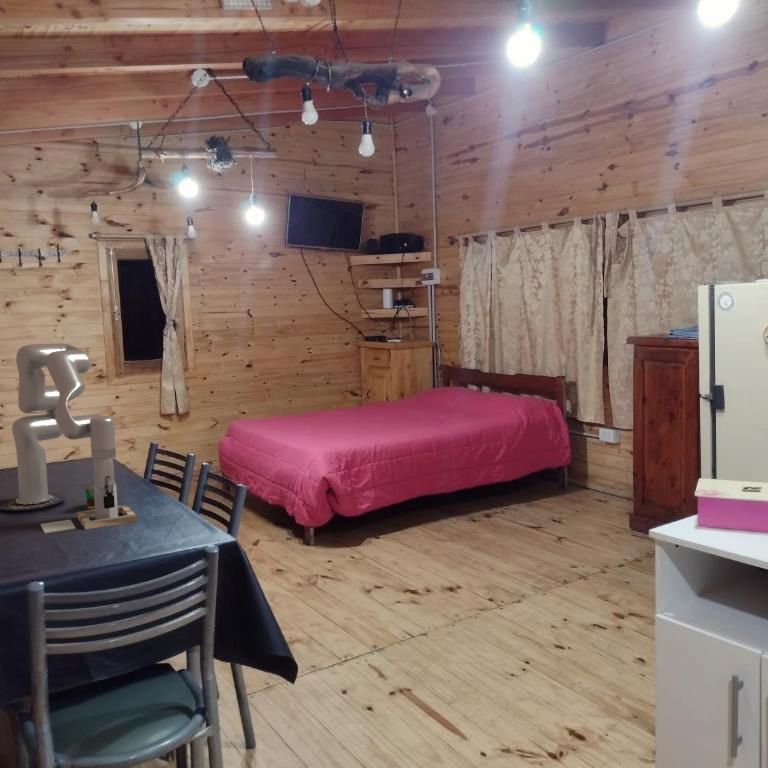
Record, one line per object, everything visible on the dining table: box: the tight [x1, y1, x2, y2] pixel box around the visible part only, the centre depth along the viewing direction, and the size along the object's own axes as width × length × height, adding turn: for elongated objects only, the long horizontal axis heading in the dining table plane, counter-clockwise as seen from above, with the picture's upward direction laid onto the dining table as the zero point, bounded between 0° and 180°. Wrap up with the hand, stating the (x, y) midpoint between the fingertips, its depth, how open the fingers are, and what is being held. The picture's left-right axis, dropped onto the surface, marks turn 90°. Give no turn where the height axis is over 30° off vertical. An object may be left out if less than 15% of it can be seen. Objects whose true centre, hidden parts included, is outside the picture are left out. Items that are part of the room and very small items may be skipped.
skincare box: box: [94, 483, 119, 520], centre depth 240 cm, size 6×4×12 cm
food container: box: [83, 481, 95, 511], centre depth 255 cm, size 12×6×10 cm, turn 168°
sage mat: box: [40, 519, 76, 534], centre depth 233 cm, size 11×9×1 cm
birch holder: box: [76, 504, 138, 530], centre depth 240 cm, size 16×16×2 cm
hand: (106, 504), depth 240 cm, fingers open, 9 cm apart
